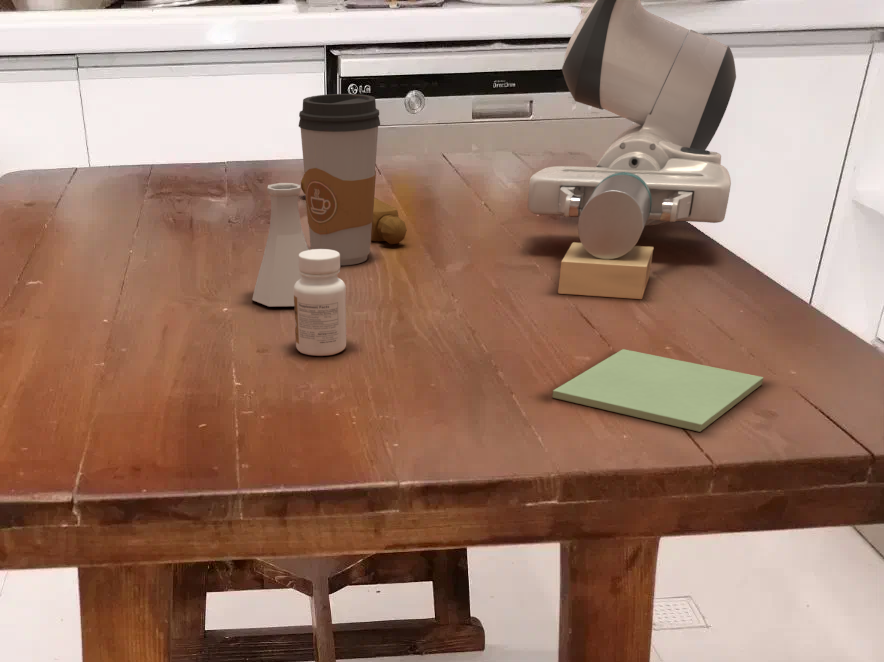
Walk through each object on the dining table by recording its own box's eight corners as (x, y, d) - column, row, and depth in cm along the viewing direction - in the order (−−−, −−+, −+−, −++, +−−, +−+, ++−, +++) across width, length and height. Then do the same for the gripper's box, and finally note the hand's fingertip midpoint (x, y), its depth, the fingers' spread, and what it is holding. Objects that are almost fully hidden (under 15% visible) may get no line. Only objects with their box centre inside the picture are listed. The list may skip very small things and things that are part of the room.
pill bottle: (309, 338, 98) (307, 245, 93) (354, 344, 96) (354, 249, 91) (286, 353, 94) (283, 257, 90) (332, 359, 93) (331, 262, 88)
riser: (568, 273, 112) (572, 242, 111) (648, 278, 110) (653, 246, 109) (557, 293, 107) (561, 261, 105) (641, 299, 105) (646, 266, 103)
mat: (762, 384, 86) (764, 376, 86) (700, 432, 79) (701, 424, 78) (621, 355, 92) (622, 348, 92) (551, 397, 85) (552, 390, 84)
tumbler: (586, 235, 113) (594, 169, 109) (646, 239, 111) (656, 172, 107) (573, 258, 106) (581, 188, 102) (637, 262, 104) (648, 191, 101)
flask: (242, 293, 109) (236, 182, 103) (312, 285, 111) (309, 175, 105) (262, 313, 104) (256, 197, 98) (334, 304, 105) (333, 190, 99)
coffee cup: (286, 260, 119) (280, 101, 109) (336, 245, 124) (334, 91, 114) (345, 272, 114) (344, 107, 105) (394, 256, 119) (397, 96, 110)
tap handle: (321, 169, 143) (411, 216, 120) (321, 195, 145) (410, 246, 122) (298, 171, 142) (385, 219, 120) (299, 197, 144) (385, 249, 122)
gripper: (540, 146, 120) (518, 171, 109) (736, 153, 114) (732, 179, 104) (535, 209, 124) (512, 239, 113) (724, 218, 118) (719, 250, 108)
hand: (619, 210), depth 109 cm, fingers open, 8 cm apart
